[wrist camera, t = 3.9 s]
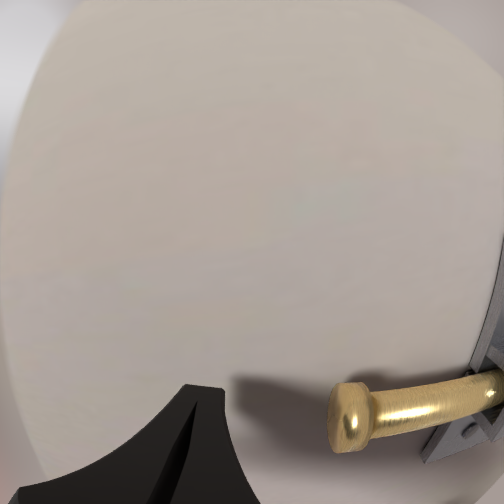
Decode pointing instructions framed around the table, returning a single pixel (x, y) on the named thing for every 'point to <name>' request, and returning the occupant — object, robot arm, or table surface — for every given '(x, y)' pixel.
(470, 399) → the pin
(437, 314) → the table surface
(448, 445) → the hinge
